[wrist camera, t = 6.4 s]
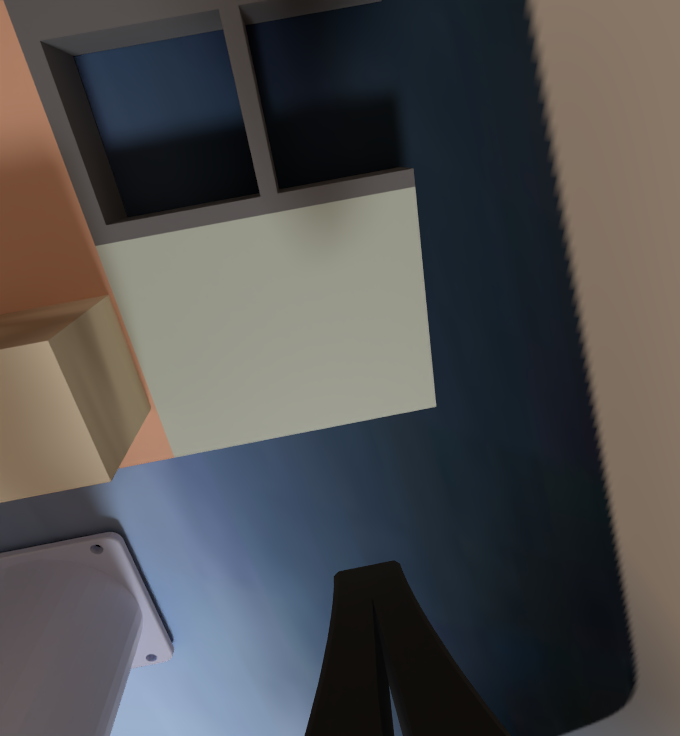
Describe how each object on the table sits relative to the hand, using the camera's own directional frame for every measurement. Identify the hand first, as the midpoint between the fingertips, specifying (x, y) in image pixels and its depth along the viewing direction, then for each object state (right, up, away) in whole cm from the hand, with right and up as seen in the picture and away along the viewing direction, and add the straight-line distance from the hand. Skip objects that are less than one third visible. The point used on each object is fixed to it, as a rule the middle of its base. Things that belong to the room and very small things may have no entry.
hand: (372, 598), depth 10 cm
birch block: (-9, +5, +5) cm, 12 cm away
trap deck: (-6, +9, +6) cm, 12 cm away
